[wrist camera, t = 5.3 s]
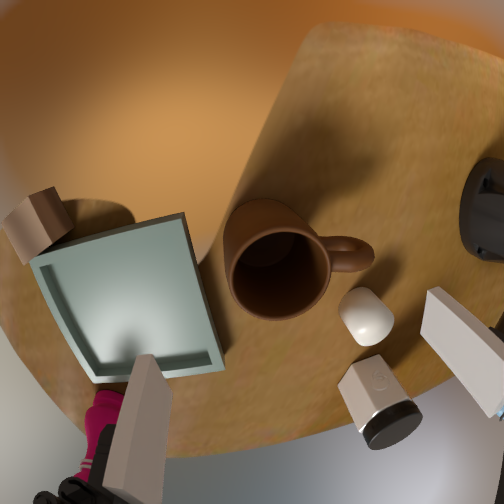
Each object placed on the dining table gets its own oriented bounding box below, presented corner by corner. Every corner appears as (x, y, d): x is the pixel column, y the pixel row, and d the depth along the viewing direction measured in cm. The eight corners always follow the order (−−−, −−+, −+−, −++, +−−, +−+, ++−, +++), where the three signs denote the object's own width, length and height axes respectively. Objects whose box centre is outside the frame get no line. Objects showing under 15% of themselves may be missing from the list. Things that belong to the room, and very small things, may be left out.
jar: (391, 347, 37) (432, 402, 26) (386, 380, 40) (418, 432, 29) (336, 367, 37) (369, 432, 25) (337, 399, 40) (362, 458, 29)
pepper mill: (126, 421, 37) (109, 526, 18) (87, 400, 34) (57, 506, 16) (144, 403, 35) (128, 524, 17) (101, 380, 33) (67, 501, 15)
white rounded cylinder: (375, 282, 32) (396, 303, 27) (373, 315, 34) (391, 338, 29) (338, 292, 32) (355, 316, 27) (338, 326, 34) (353, 351, 29)
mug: (339, 190, 27) (390, 214, 19) (338, 260, 30) (380, 304, 21) (218, 200, 26) (219, 230, 18) (227, 274, 29) (232, 329, 20)
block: (54, 186, 23) (27, 196, 19) (75, 227, 25) (52, 243, 21) (26, 209, 24) (0, 222, 19) (46, 247, 26) (23, 265, 21)
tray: (184, 211, 26) (180, 218, 24) (224, 355, 33) (225, 369, 31) (39, 250, 25) (28, 258, 23) (98, 370, 32) (93, 383, 30)
